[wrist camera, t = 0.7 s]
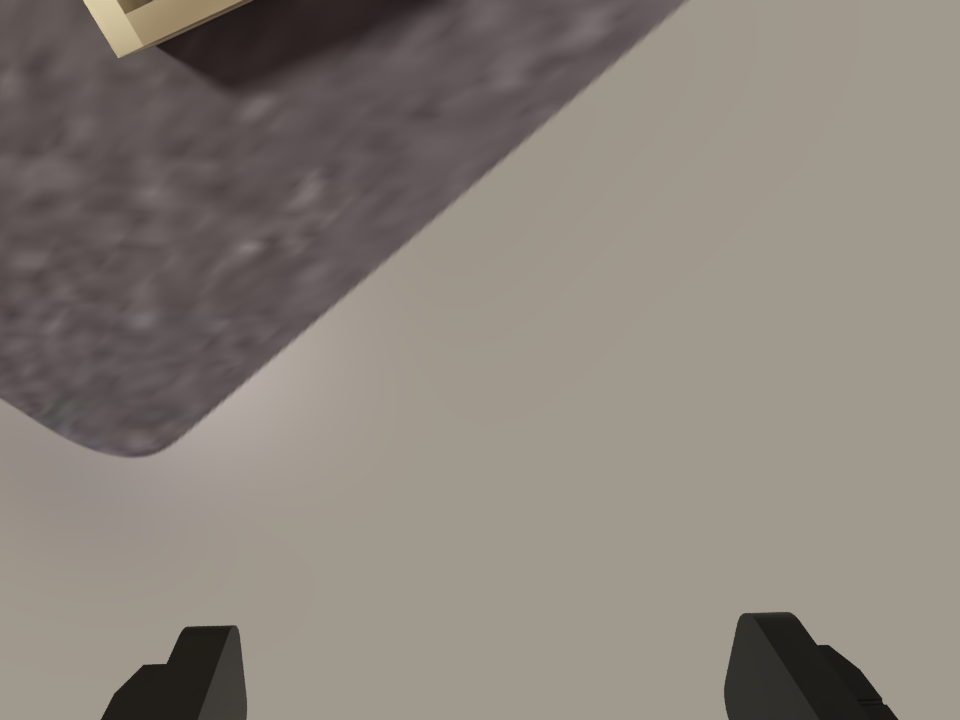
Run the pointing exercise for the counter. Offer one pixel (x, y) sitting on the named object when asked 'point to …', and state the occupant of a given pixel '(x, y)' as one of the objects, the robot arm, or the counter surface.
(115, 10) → the wooden socket
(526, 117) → the counter surface
